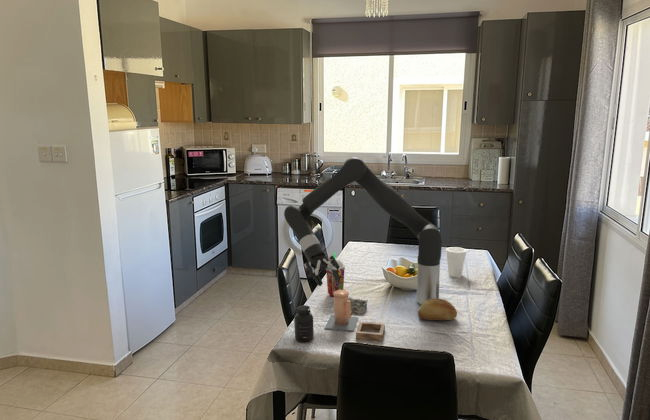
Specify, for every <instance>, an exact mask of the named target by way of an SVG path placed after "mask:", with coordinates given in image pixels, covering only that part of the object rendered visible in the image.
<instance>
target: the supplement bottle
mask: <svg viewBox="0 0 650 420" xmlns="http://www.w3.org/2000/svg"><path fill="white" fill-rule="evenodd" d="M293 321H294V322H293V324H294V339H295V341H296V342H298V343H301V344H307V343H311V342H312V341H313V340H314V338H315V337H314V335H315V334H314V333H315V332H314V315H313V314H311V307H310V306H309V305H305V304H304V305H303V304H302V305H299V306H296V314H295V315H294V317H293Z"/></svg>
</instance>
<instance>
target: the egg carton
mask: <svg viewBox="0 0 650 420" xmlns="http://www.w3.org/2000/svg"><path fill="white" fill-rule="evenodd" d="M348 300H350V301H351V313H353V312H356V313H357V314H361V313H365V311H366V310H367V309H368V299H366V300H365V299H360V298H358V299H357V298H352V297H348Z"/></svg>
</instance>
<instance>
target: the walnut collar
mask: <svg viewBox="0 0 650 420" xmlns="http://www.w3.org/2000/svg"><path fill="white" fill-rule="evenodd" d="M363 330H364V331H363ZM365 330H366V331H365ZM385 330H386V324H385V323H382V322H368V321H359V323H358V326H357V327H356V331H355V339H356V340H362V341H363V340H364V341H370V342H371V341H374V342H383V340H384V334H385ZM369 331H375V332H369ZM377 331H378V332H377Z"/></svg>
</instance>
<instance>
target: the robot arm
mask: <svg viewBox="0 0 650 420" xmlns="http://www.w3.org/2000/svg"><path fill="white" fill-rule="evenodd" d="M354 182H355V183H356V184H357V185H359V186H361V188H363V190H365V191H366V193H368V195H370V197H371V199H373V201H374V203H376V204H377V205H378V206H379V207H380V208H381V209H382V210H383V211H384V212H386V214H387V215H389V216H390V217H392V218H393V219H395V220H396V221H397V222H399V223H401V224H403V225H404V226H405V227H407V228H408V229H409V230H410V231H411V232H412V233H413V234H414V235H415V237H416V238H417V240H418V252H417V253H418V254H417V269H416V270H417V272H416V274H417V275H416V302H417V303H418V304H420V305H422V304H423V303H424V302H425V301H427V300H429V299H433V298H437V299H440V273H441V272H440V271H441V270H440V269H441V268H440V267H441V258H442V249H443V248H442V245H443V244H442V243H443V236H442V233H441V232H440V230H439V228H438V227H437V226H436V225H434V224H433V223H432V222H430V221H428V219H426V218H424V217H423V216H422V215H421V214H420V213H418V212H417V210H415V208H414V207H413V206H412V205H411V204H410V202H408V200H406V198H404V197H403V196H402V195H401V194H400V193H399V192H398V191H397V190H396V189H394V188H393V187H392V186H391V185H389V184H388V183H386V182H385V181H383V180H382V179H380V178H379V176H377V175H376V174H375V173H374V172H373V171H372V170H371V169H370V168H369V167H368V166H367V164H366V163H365V162H364V161H363V159H361V158H359V157H356V156H355V157H354V156H351V157H349V158H347V159H346V160H345V161H344V163H343V165H342V167H340V169H339V170H338V171H337V172H336V173H335V174H334V175H333V176H332V177H330V178H328V179H327V180H326V181H324V182H323V183H321V184H320V185H318V186H317V187H315V188H314V189H313V190H311V191H310V192H309V193H308V194H307V195H305V196H304V197H303V198H302V204H301V205H299V207H298V206H297V205H293V204H291V205H288V206H286V208H285V209H284V212H283V216H284V219H285V221H286V222H287V224H288V226H289V227H290V228H291V230H292V231H293V233H294V234H295V236H296V239H297V241H298V242H299V245H300V248H301V250H302V252H303V254H304V256H305V258H306V260H307V261H306V262H305V263H304V264H303V268H304V270H305V273H306V275H307V277H308V278H309V279H311V278H312V279H314V281H315V283H316V285H317V286H319V287H321V286H322V285H323V280H322V278H321V276H320V275H319V272H321V271H326V270H327V271H330V272H332V274H333V276H334V278H335V280H336V281H338V280H339V279H340V276H339V274H338V272H337V270H338V269H339V265H338V263H337V261H336V260H335V258H334V255H331V256H329V257H327V256H326V252H325V249H323V246H322V245H321V243H320V240H319V239H318V238H317V236H316V235H315V233H314V231H313V229H312V227H311V226H310V225H309V223H307V222H306V221H307V220H308V219H309V218H310V217H312V215H313V213H314V212H315V211H316V210H318V208H320V207H321V206H322V205H324V204H325V203H326V202H327V201H328V200H330V199H331V198H332V197H333V196H335V194H336V193H338V192H339V191H341V190H342V189H344V188H345V187H346V186H348V185H350V184H352V183H354ZM328 261H329V262H328ZM328 266H329V267H328ZM312 268H313V269H312Z"/></svg>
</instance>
